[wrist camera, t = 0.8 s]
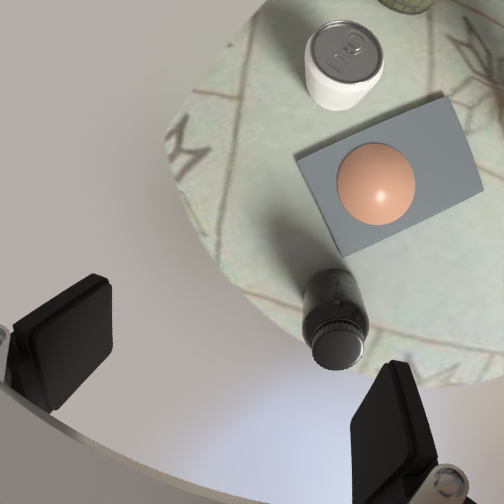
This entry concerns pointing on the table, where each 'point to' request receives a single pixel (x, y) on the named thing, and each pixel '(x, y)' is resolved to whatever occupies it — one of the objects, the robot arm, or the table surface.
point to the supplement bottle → (334, 319)
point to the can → (342, 64)
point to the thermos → (408, 5)
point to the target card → (392, 175)
